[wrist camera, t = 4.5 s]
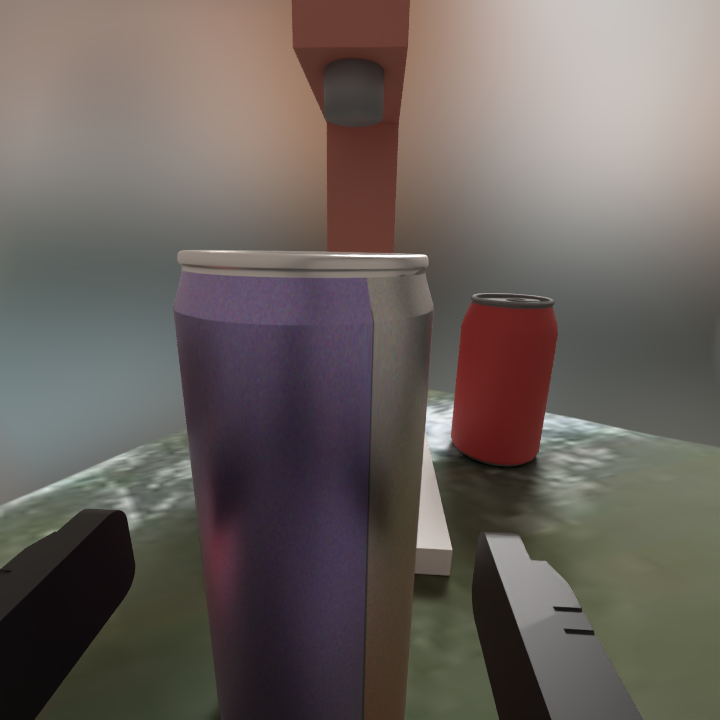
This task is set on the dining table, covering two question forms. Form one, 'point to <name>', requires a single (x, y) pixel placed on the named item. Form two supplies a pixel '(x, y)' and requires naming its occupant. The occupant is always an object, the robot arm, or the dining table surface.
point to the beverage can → (306, 472)
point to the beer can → (503, 377)
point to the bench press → (366, 162)
